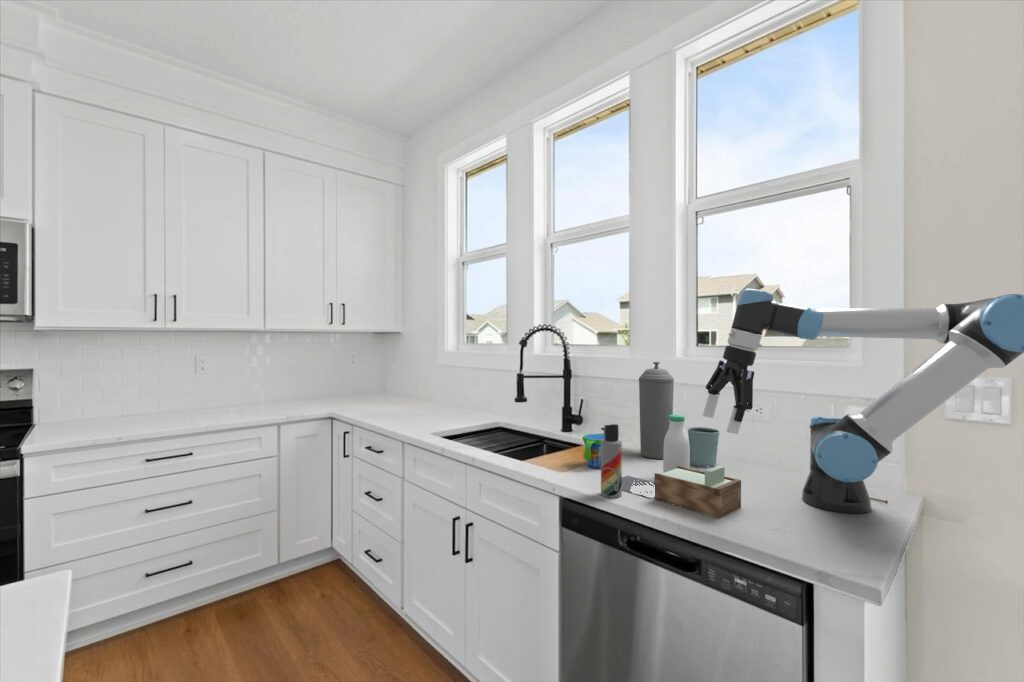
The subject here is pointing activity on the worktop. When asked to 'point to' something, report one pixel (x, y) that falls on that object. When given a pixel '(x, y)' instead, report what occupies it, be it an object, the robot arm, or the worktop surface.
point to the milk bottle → (676, 445)
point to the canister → (655, 410)
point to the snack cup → (593, 449)
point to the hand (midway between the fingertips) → (719, 424)
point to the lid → (701, 476)
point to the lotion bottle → (611, 463)
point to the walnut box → (699, 494)
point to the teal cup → (703, 446)
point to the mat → (629, 480)
